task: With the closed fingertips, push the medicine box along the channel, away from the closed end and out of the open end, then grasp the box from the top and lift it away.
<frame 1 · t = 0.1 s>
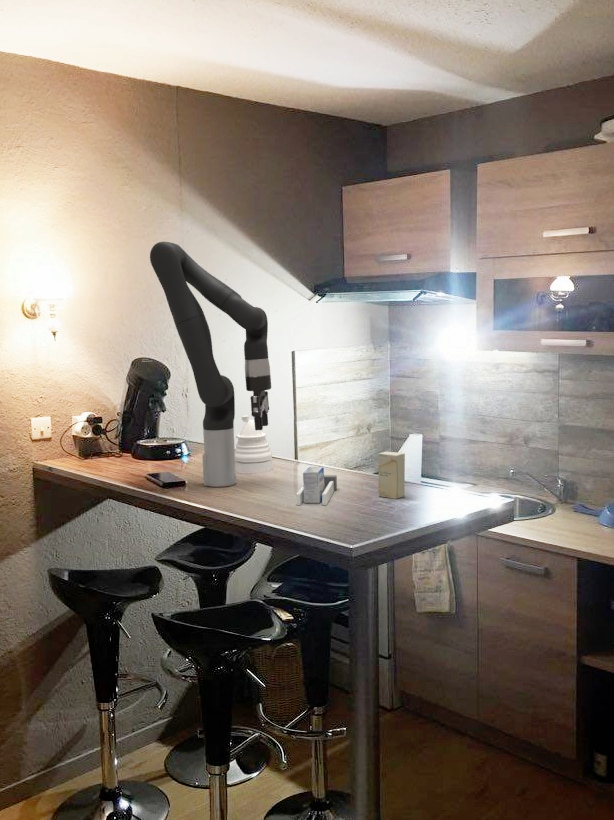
hand: (261, 427, 253), 17 cm above the breakfast bar, tool pointing down, fingers open, 8 cm apart
medicine box: (314, 501, 232), on the breakfast bar
skincare box: (392, 497, 233), on the breakfast bar
channel: (316, 497, 235), on the breakfast bar
honey pot: (253, 470, 279), on the breakfast bar
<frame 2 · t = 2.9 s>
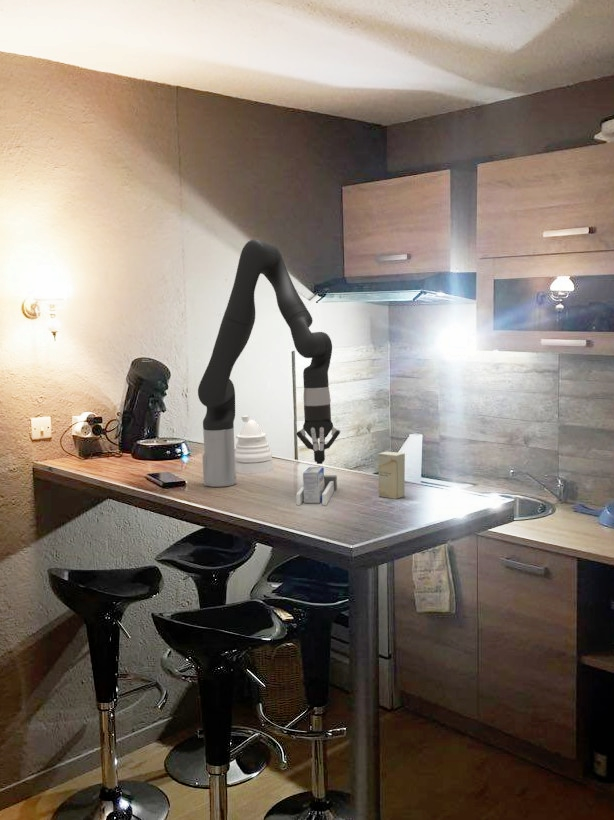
hand: (319, 463, 240), 8 cm above the breakfast bar, tool pointing down, fingers closed
nothing on the breakfast bar moved.
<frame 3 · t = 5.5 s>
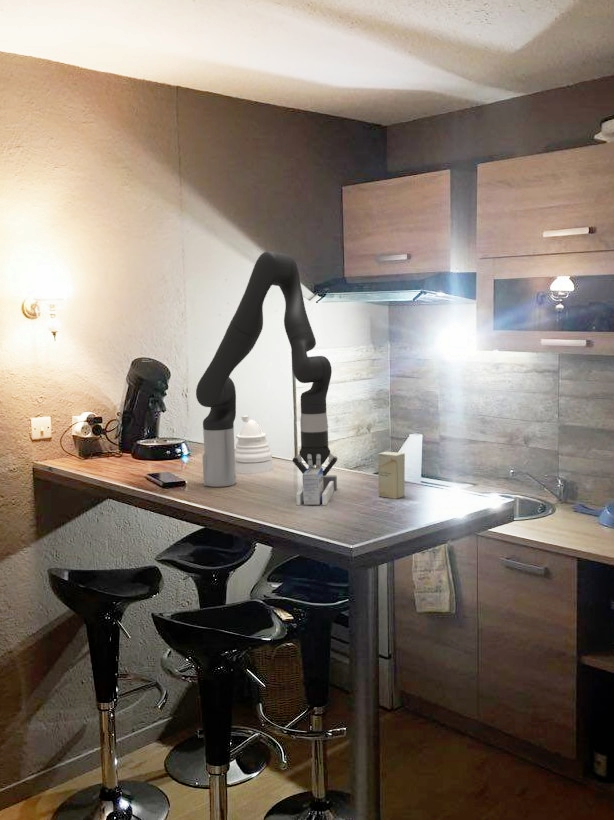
hand: (316, 490, 234), 2 cm above the breakfast bar, tool pointing down, fingers closed
medicine box: (313, 502, 229), on the breakfast bar, touching gripper, hand
everything else where it was.
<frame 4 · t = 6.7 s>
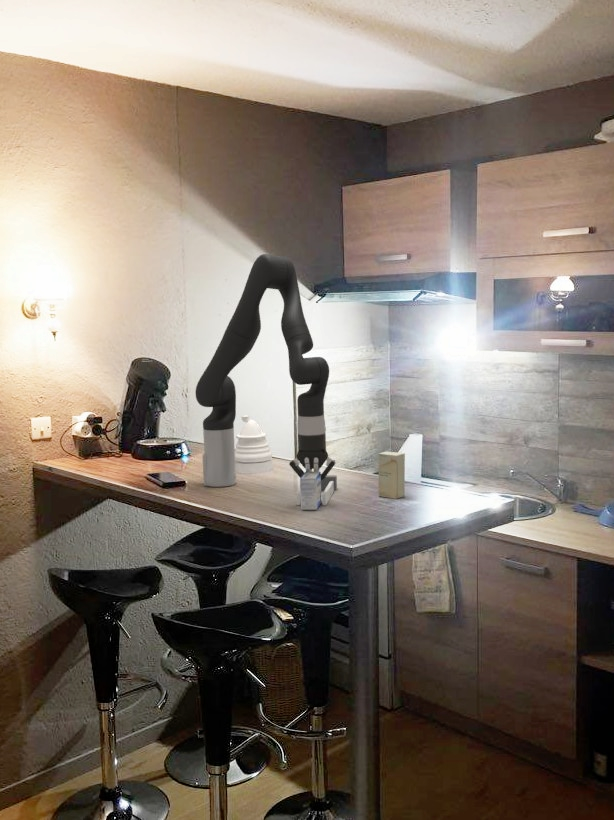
hand: (313, 494, 228), 2 cm above the breakfast bar, tool pointing down, fingers closed
medicine box: (311, 507, 224), on the breakfast bar, touching hand
everything else where it was.
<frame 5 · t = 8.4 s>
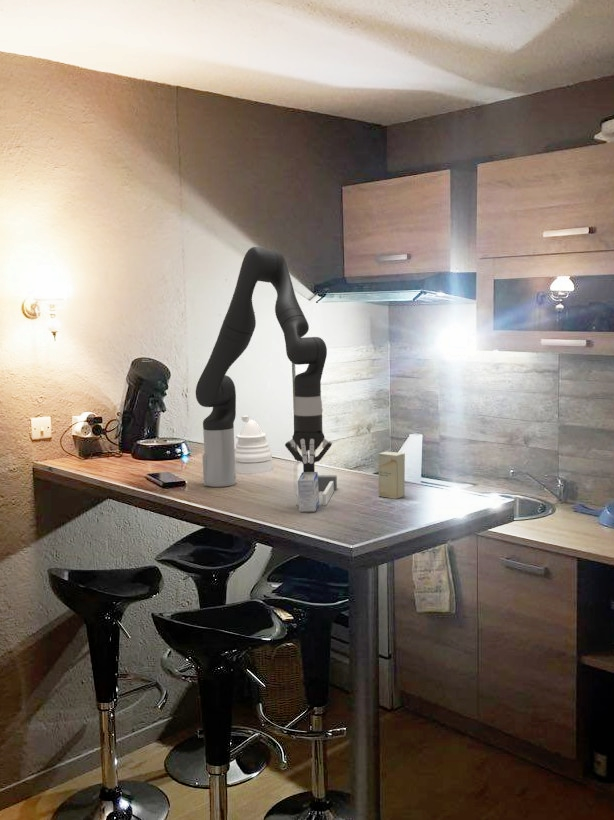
hand: (309, 476, 225), 8 cm above the breakfast bar, tool pointing down, fingers closed
medicine box: (309, 508, 222), on the breakfast bar
everything else where it was.
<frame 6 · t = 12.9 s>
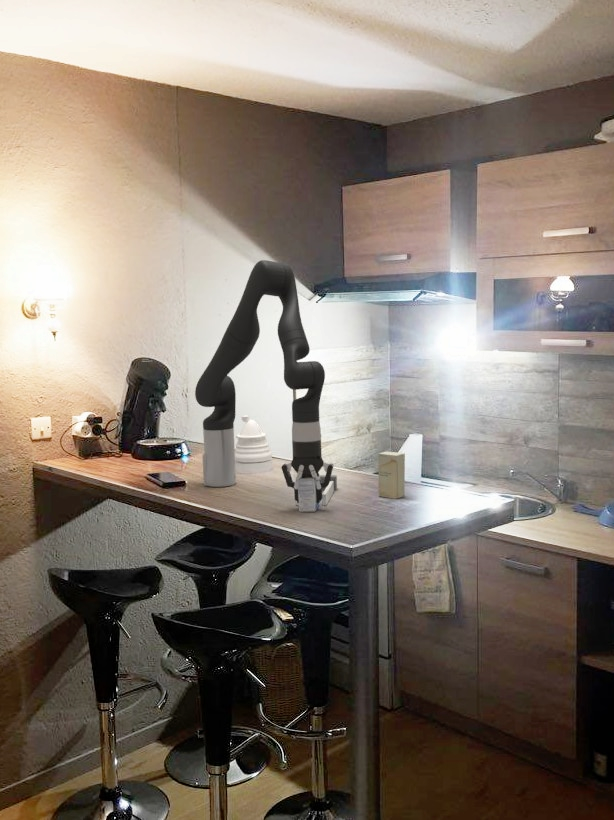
hand: (308, 502, 221), 2 cm above the breakfast bar, tool pointing down, fingers closed on medicine box, 4 cm apart
medicine box: (309, 509, 222), on the breakfast bar, touching gripper
everything else where it was.
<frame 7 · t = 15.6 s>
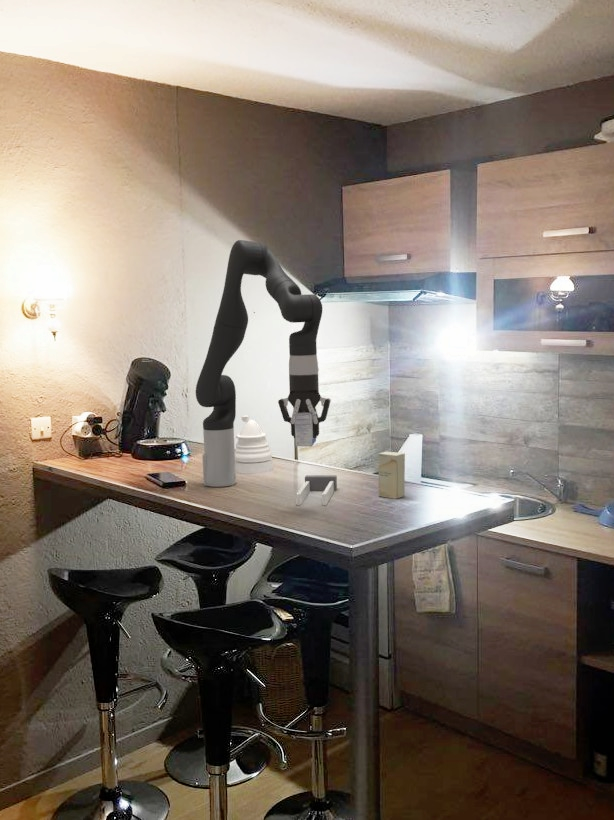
hand: (305, 437, 219), 19 cm above the breakfast bar, tool pointing down, fingers closed on medicine box, 4 cm apart
medicine box: (305, 444, 220), point 17 cm above the breakfast bar, touching gripper
everything else where it was.
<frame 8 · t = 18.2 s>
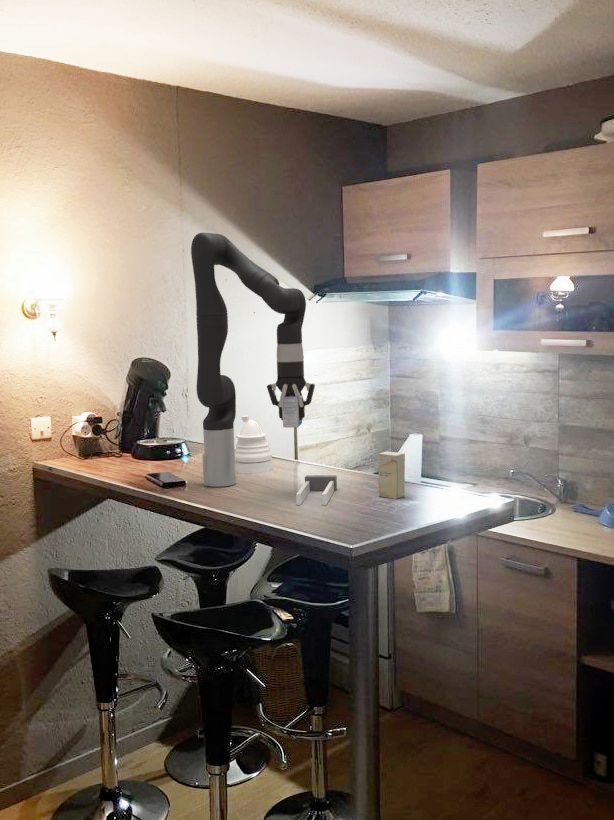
hand: (292, 419, 239), 21 cm above the breakfast bar, tool pointing down, fingers closed on medicine box, 4 cm apart
medicine box: (292, 426, 240), point 19 cm above the breakfast bar, touching gripper
everything else where it was.
at the end: the gripper is holding medicine box; medicine box point 19.2 cm above the breakfast bar; medicine box moved 22.7 cm from its start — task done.
